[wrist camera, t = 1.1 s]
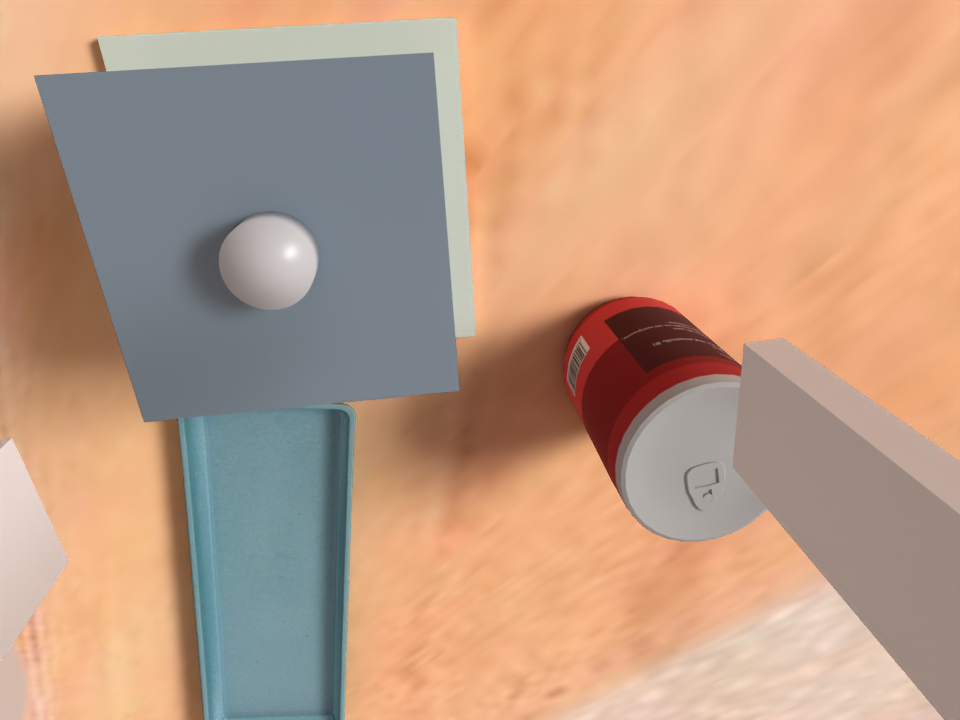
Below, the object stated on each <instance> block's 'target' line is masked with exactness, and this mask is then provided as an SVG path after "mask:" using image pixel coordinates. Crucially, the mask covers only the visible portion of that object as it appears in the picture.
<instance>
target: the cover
mask: <svg viewBox="0 0 960 720" xmlns="http://www.w3.org/2000/svg"><path fill="white" fill-rule="evenodd" d="M34 78H35V81H36V84H37V87H38V90H39V93H40V96H41V100H42V103H43V106H44V109H45V112H46V115H47V119H48V122H49V125H50V128H51V131H52V134H53V137H54V141H55V144H56V147H57V150H58V153H59V156H60V159H61V163H62V166H63V169H64V172H65V175H66V178H67V181H68V185H69V188H70V191H71V194H72V197H73V200H74V203H75V207H76V210H77V213H78V216H79V219H80V222H81V225H82V229H83V232H84V235H85V238H86V241H87V244H88V247H89V251H90V254H91V257H92V260H93V263H94V266H95V269H96V273H97V276H98V279H99V282H100V285H101V288H102V291H103V295H104V298H105V301H106V304H107V307H108V310H109V313H110V317H111V320H112V323H113V326H114V329H115V332H116V335H117V339H118V342H119V345H120V348H121V351H122V354H123V357H124V361H125V364H126V367H127V370H128V373H129V376H130V379H131V383H132V386H133V389H134V392H135V395H136V398H137V401H138V405H139V408H140V411H141V414H142V417H143V420H144V422H151V421H161V420H171V419H181V418H192V417H202V416H212V415H222V414H232V413H242V412H252V411H262V410H272V409H282V408H292V407H302V406H312V405H322V404H332V403H342V402H353V401H363V400H373V399H383V398H393V397H403V396H413V395H423V394H433V393H443V392H453V391H459V378H458V365H457V351H456V338H455V325H454V312H453V299H452V286H451V273H450V260H449V247H448V234H447V221H446V208H445V195H444V182H443V169H442V156H441V143H440V130H439V116H438V103H437V90H436V77H435V64H434V52H432V53H415V54H397V55H380V56H363V57H346V58H329V59H311V60H294V61H277V62H260V63H243V64H225V65H208V66H191V67H174V68H157V69H139V70H122V71H105V72H88V73H71V74H53V75H36V76H34Z"/></svg>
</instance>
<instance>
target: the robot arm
mask: <svg viewBox="0 0 960 720" xmlns="http://www.w3.org/2000/svg"><path fill="white" fill-rule="evenodd" d="M732 467H733V468H734V469H735V471H736V472H737V473H738V474H739V475H740V477H741V478H742V479H743V480H744V481H745V483H746V484H747V485H748V486H749V487H750V488H751V490H752V491H753V492H754V493H755V494H756V496H757V497H758V498H759V499H760V500H761V502H762V503H763V504H764V505H765V506H766V508H767V509H768V510H769V511H770V512H771V514H772V515H773V516H774V517H775V518H776V520H777V521H778V522H779V523H780V524H781V525H782V527H783V528H784V529H785V530H786V531H787V533H788V534H789V535H790V536H791V537H792V539H793V540H794V541H795V542H796V543H797V545H798V546H799V547H800V548H801V549H802V551H803V552H804V553H805V554H806V555H807V557H808V558H809V559H810V560H811V561H812V562H813V564H814V565H815V566H816V567H817V568H818V570H819V571H820V572H821V573H822V574H823V576H824V577H825V578H826V579H827V580H828V582H829V583H830V584H831V585H832V586H833V588H834V589H835V590H836V591H837V592H838V594H839V595H840V596H841V597H842V598H843V599H844V601H845V602H846V603H847V604H848V605H849V607H850V608H851V609H852V610H853V611H854V613H855V614H856V615H857V616H858V617H859V619H860V620H861V621H862V622H863V623H864V625H865V626H866V627H867V628H868V629H869V630H870V632H871V633H872V634H873V635H874V636H875V638H876V639H877V640H878V641H879V642H880V644H881V645H882V646H883V647H884V648H885V650H886V651H887V652H888V653H889V654H890V656H891V657H892V658H893V659H894V660H895V662H896V663H897V664H898V665H899V666H900V667H901V669H902V670H903V671H904V672H905V673H906V675H907V676H908V677H909V678H910V679H911V681H912V682H913V683H914V684H915V685H916V687H917V688H918V689H919V690H920V691H921V693H922V694H923V695H924V696H925V697H926V699H927V700H928V701H929V702H930V703H931V704H932V706H933V707H934V708H935V709H936V710H937V712H938V713H939V714H940V715H941V716H942V718H943V719H944V720H960V461H959V460H958V459H956V458H955V457H953V456H952V455H950V454H949V453H947V452H946V451H945V450H943V449H942V448H940V447H939V446H937V445H936V444H935V443H933V442H932V441H930V440H929V439H927V438H926V437H925V436H923V435H922V434H920V433H919V432H917V431H916V430H914V429H913V428H912V427H910V426H909V425H907V424H906V423H904V422H903V421H902V420H900V419H899V418H897V417H896V416H894V415H893V414H891V413H890V412H889V411H887V410H886V409H884V408H883V407H881V406H880V405H879V404H877V403H876V402H874V401H873V400H871V399H870V398H869V397H867V396H866V395H864V394H863V393H861V392H860V391H858V390H857V389H856V388H854V387H853V386H851V385H850V384H848V383H847V382H846V381H844V380H843V379H841V378H840V377H838V376H837V375H836V374H834V373H833V372H831V371H830V370H828V369H827V368H825V367H824V366H823V365H821V364H820V363H818V362H817V361H815V360H814V359H813V358H811V357H810V356H808V355H807V354H805V353H804V352H802V351H801V350H800V349H798V348H797V347H795V346H794V345H792V344H791V343H790V342H788V341H787V340H785V339H784V338H781V339H774V340H766V341H758V342H751V343H744V348H743V359H742V370H741V380H740V391H739V402H738V413H737V423H736V434H735V445H734V455H733V466H732ZM68 562H69V560H68V558H67V556H66V553H65V551H64V549H63V547H62V545H61V543H60V540H59V538H58V536H57V534H56V532H55V530H54V528H53V525H52V523H51V521H50V519H49V517H48V515H47V512H46V510H45V508H44V506H43V504H42V502H41V500H40V497H39V495H38V493H37V491H36V489H35V487H34V484H33V482H32V480H31V478H30V476H29V474H28V471H27V469H26V467H25V465H24V463H23V461H22V459H21V456H20V454H19V452H18V450H17V448H16V446H15V443H14V441H13V439H12V438H8V439H1V440H0V662H1V661H2V659H3V658H4V656H5V655H6V653H7V652H8V650H9V649H10V647H11V646H12V644H13V643H14V641H15V640H16V639H17V637H18V636H19V634H20V633H21V631H22V630H23V628H24V627H25V625H26V624H27V622H28V621H29V619H30V618H31V616H32V615H33V614H34V612H35V611H36V609H37V608H38V606H39V605H40V603H41V602H42V600H43V599H44V597H45V596H46V594H47V593H48V592H49V590H50V589H51V587H52V586H53V584H54V583H55V581H56V580H57V578H58V577H59V575H60V574H61V572H62V571H63V569H64V568H65V567H66V565H67V564H68Z"/></svg>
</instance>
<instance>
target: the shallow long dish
mask: <svg viewBox="0 0 960 720" xmlns="http://www.w3.org/2000/svg"><path fill="white" fill-rule="evenodd" d="M355 417H356V415H355V411H354V409H353V408H352V407H350V406H349V405H347V404H343V403H332V404H322V405H312V406H302V407H292V408H282V409H272V410H262V411H252V412H242V413H232V414H222V415H212V416H202V417H192V418H181V419H178V427H179V437H180V447H181V457H182V469H183V480H184V493H185V502H186V513H187V525H188V537H189V550H190V561H191V571H192V574H191V575H192V585H193V596H194V610H195V622H196V635H197V645H198V658H199V670H200V681H201V693H202V708H203V718H204V720H345V690H346V651H347V625H348V597H349V568H350V537H351V510H352V487H353V456H354V431H355Z"/></svg>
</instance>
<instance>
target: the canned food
mask: <svg viewBox="0 0 960 720" xmlns="http://www.w3.org/2000/svg"><path fill="white" fill-rule="evenodd" d="M741 370H742V366H741V365H740V364H739V363H737V362H736V361H735V360H734V359H733V358H732V357H730V356H729V355H728V354H727V353H726V352H725V351H724V350H722V349H721V348H720V347H719V346H718V345H717V344H715V343H714V342H713V341H712V340H711V339H710V338H708V337H707V336H706V335H705V334H704V333H703V332H701V331H700V330H699V329H698V328H697V327H696V326H694V325H693V324H692V323H691V322H690V321H689V320H688V319H686V318H685V317H684V316H683V315H682V314H681V313H679V312H678V311H677V310H676V309H675V308H674V307H672V306H670V305H668V304H666V303H664V302H662V301H659V300H655V299H651V298H644V297H626V298H619V299H616V300H613V301H610V302H607V303H605V304H603V305H602V306H600V307H598V308H596V309H595V310H593V311H592V312H591V313H590V314H589V315H587V316H586V317H585V318H584V319H583V320H582V322H581V323H580V324H579V325H578V326H577V328H576V329H575V331H574V333H573V335H572V336H571V338H570V341H569V344H568V347H567V350H566V355H565V363H564V380H565V385H566V388H567V391H568V394H569V396H570V398H571V400H572V402H573V404H574V406H575V408H576V410H577V412H578V414H579V416H580V418H581V420H582V422H583V424H584V426H585V428H586V430H587V432H588V434H589V436H590V438H591V440H592V442H593V444H594V446H595V448H596V450H597V452H598V454H599V456H600V458H601V460H602V462H603V464H604V466H605V468H606V470H607V472H608V474H609V476H610V478H611V480H612V482H613V484H614V486H615V487H616V489H617V491H618V493H619V495H620V497H621V498H622V500H623V502H624V504H625V506H626V507H627V509H628V510H629V511H630V512H631V514H632V516H633V517H634V518H635V519H636V520H637V521H638V522H639V523H640V524H641V525H642V526H643V527H645V528H646V529H648V530H649V531H651V532H652V533H654V534H656V535H659V536H661V537H664V538H666V539H671V540H676V541H682V542H699V541H705V540H711V539H716V538H719V537H722V536H725V535H728V534H731V533H733V532H735V531H737V530H739V529H741V528H743V527H745V526H746V525H748V524H749V523H751V522H752V521H753V520H755V519H756V518H758V517H759V516H760V515H761V514H762V513H763V512H765V511H766V510H767V508H766V506H765V505H764V504H763V503H762V502H761V500H760V499H759V498H758V497H757V496H756V494H755V493H754V492H753V491H752V490H751V488H750V487H749V486H748V485H747V484H746V483H745V481H744V480H743V479H742V478H741V477H740V475H739V474H738V473H737V472H736V471H735V469H734V468H733V467H732V466H733V455H734V445H735V434H736V423H737V413H738V402H739V391H740V380H741Z"/></svg>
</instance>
